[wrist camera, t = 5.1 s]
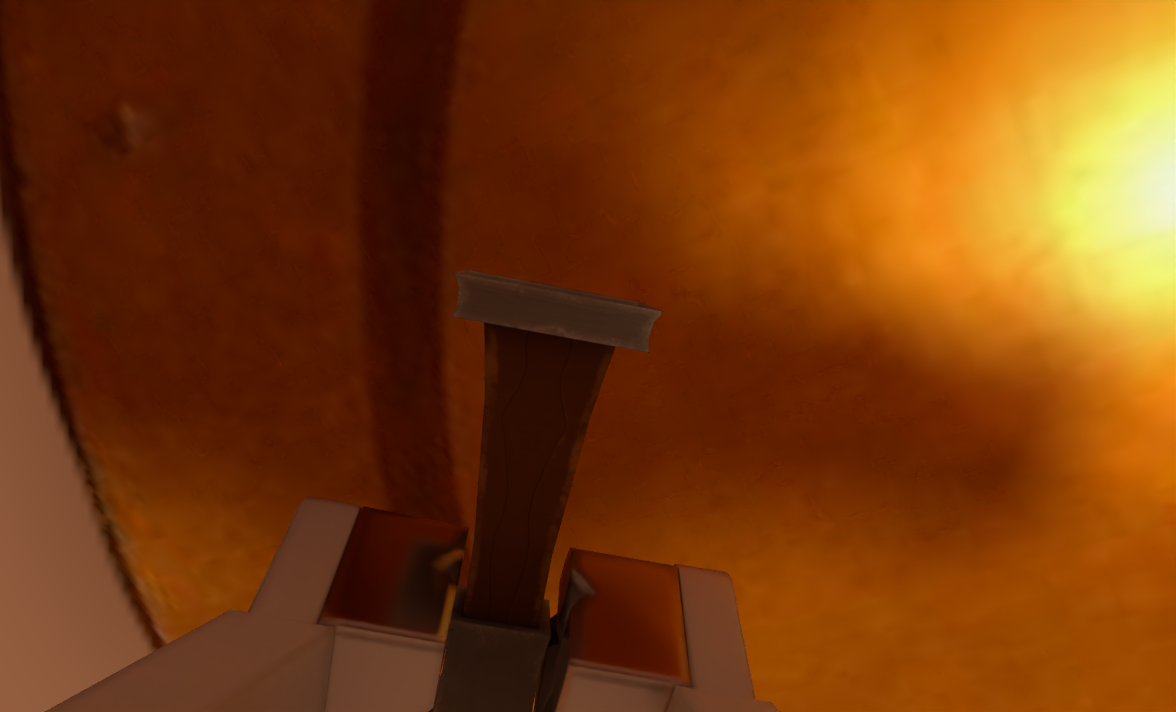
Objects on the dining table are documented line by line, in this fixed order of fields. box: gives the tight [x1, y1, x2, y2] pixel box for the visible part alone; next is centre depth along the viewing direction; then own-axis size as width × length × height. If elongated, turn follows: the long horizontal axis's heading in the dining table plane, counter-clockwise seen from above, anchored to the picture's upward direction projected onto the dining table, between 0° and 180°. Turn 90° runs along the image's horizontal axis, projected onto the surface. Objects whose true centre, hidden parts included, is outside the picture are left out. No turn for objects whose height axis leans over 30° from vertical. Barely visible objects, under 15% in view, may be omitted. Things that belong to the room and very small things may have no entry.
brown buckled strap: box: [433, 270, 663, 712], centre depth 11 cm, size 2×8×4 cm, turn 169°
